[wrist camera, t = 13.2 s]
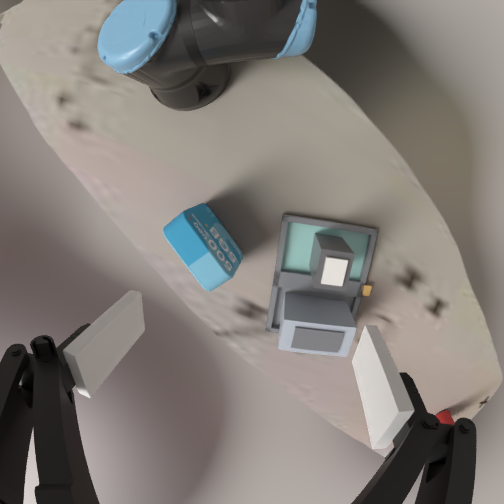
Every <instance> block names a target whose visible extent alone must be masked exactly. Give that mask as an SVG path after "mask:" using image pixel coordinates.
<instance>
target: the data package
mask: <svg viewBox="0 0 504 504" xmlns="http://www.w3.org/2000/svg"><path fill="white" fill-rule="evenodd" d="M163 234H164V236H165V238H166V239H167V241H168V242H169V243H170V245H171V246H172V247H173V249H174V250H175V252H176V253H177V254H178V256H179V257H180V258H181V260H182V261H183V262H184V264H185V265H186V266H187V267H188V269H189V270H190V271H191V273H192V274H193V275H194V277H195V278H196V279H197V280H198V282H199V283H200V284H201V286H202V287H203V288H204V289H205V290H207V291H212V290H214V289H215V288H217V287H218V286H220V285H221V284H223V283H225V282H226V281H228V280H229V279H231V278H232V277H233V276H234V274H235V272H236V270H237V268H238V266H239V264H240V262H241V260H242V258H243V254H242V252H241V250H240V249H239V247H238V246H237V244H236V243H235V242H234V240H233V239H232V238H231V236H230V235H229V234H228V232H227V231H226V229H225V228H224V227H223V225H222V224H221V223H220V221H219V220H218V219H217V217H216V216H215V214H214V213H213V212H212V210H211V209H210V208H209V207H208V206H207V205H206V204H204V203H202V204H199V205H197V206H194V207H192V208H190V209H187V210H185V211H183V212H182V213H181V214H179V215H178V216H177V217H176V218H175V219H173V220H172V221H171V222H170V223H169V224H167V225H166V226H165V227H164V228H163Z"/></svg>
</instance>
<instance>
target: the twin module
mask: <svg viewBox="0 0 504 504" xmlns="http://www.w3.org/2000/svg"><path fill="white" fill-rule="evenodd" d="M356 329H357V327H356V324H355V322H354V319H353V317H352V314H351V312H350V309H349V306H348V304H347V301H346V300H339V299H331V298H323V297H316V296H308V295H300V294H293V293H286V292H285V295H284V301H283V306H282V312H281V317H280V328H279V342H278V350H285V351H293V352H302V353H311V354H321V355H332V356H345V357H347V354H348V352H349V349H350V346H351V343H352V340H353V338H354V335H355V332H356Z"/></svg>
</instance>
